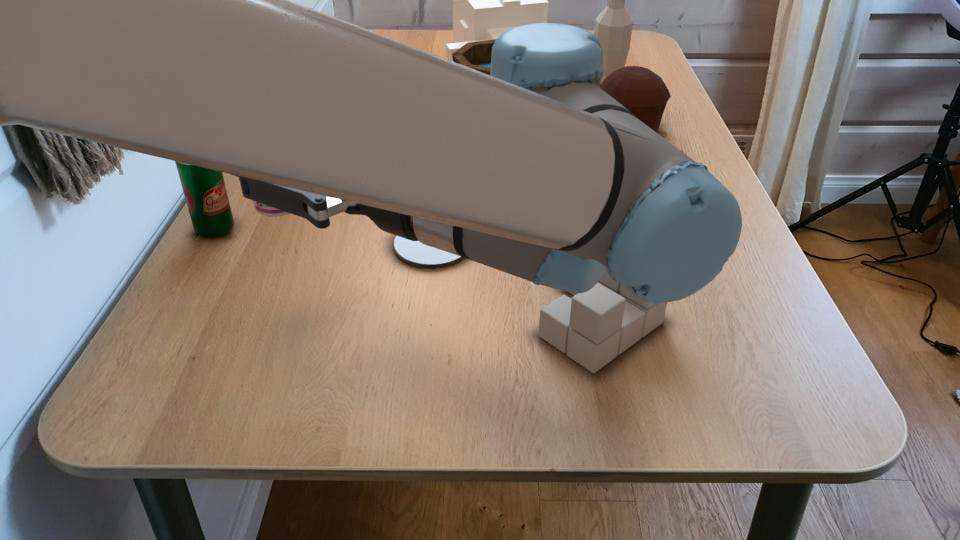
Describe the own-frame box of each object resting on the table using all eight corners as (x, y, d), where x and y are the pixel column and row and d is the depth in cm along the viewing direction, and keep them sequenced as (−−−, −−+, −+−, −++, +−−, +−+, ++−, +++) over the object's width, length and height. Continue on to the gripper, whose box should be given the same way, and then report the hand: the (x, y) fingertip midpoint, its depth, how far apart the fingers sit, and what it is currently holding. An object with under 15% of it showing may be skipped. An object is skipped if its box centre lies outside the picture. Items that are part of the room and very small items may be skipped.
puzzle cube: (582, 274, 89) (588, 219, 84) (663, 322, 82) (675, 265, 77) (511, 318, 83) (513, 261, 78) (593, 374, 76) (601, 315, 71)
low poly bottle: (583, 78, 138) (594, -46, 125) (612, 73, 140) (626, -50, 127) (602, 90, 133) (615, -37, 120) (631, 85, 136) (647, -41, 122)
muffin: (678, 139, 118) (688, 79, 112) (617, 151, 115) (625, 90, 109) (638, 110, 127) (647, 53, 121) (581, 120, 124) (587, 62, 118)
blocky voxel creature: (465, 120, 128) (425, 52, 148) (596, 103, 134) (541, 39, 154) (466, 38, 118) (424, -23, 138) (607, 24, 124) (547, -33, 144)
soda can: (216, 244, 94) (195, 161, 87) (186, 234, 96) (163, 152, 89) (243, 224, 98) (224, 143, 91) (213, 216, 99) (193, 135, 92)
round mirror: (405, 275, 89) (405, 271, 89) (385, 232, 97) (385, 228, 96) (483, 259, 92) (483, 255, 91) (457, 218, 99) (457, 214, 99)
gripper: (372, 292, 58) (163, 213, 67) (483, 191, 70) (294, 136, 79) (363, 211, 53) (140, 138, 62) (483, 118, 65) (283, 69, 75)
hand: (227, 137), depth 71 cm, fingers closed on pill bottle, 5 cm apart
